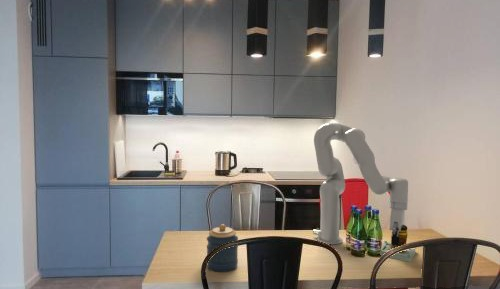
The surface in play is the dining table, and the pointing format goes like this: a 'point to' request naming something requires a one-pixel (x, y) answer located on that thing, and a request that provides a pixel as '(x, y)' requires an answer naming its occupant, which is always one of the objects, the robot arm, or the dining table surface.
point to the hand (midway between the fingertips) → (397, 241)
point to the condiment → (400, 239)
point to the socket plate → (403, 256)
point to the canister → (225, 257)
